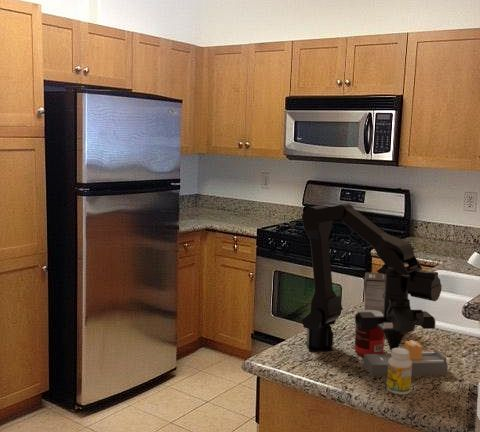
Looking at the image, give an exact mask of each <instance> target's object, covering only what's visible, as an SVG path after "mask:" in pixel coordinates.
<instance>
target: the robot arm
mask: <svg viewBox="0 0 480 432" xmlns="http://www.w3.org/2000/svg"><path fill="white" fill-rule="evenodd" d="M337 220H339V221H340V222H342V223H343V224H344V225H345V226H347V227H348V228H349V229H350V230H352V231H353V232H354V233H355V234H356V235H358V236H359V237H360V238H362V240H364V241H365V242H366V243H368V244H369V245H370V246H371V247H372V248H373V249H374V251H375V253H376V255H377V257H378V258H379V259H380V260H381V261H382V262H383V265H382V266H381V267H380V268H379V269H377V270H376V273H381V274H385V291H384V294H383V298H384V309H382V314H383V316H374V314H373V313H372V312H358V311H357V312H358V313H357V312H356V313H357V314H355V315H354V317H355V318H354V319H355V320H354V321H355V325H356V324H357V325H358V326H359V327H360V329H363V330H374V329H375V328H376V327H377V326H378V327H379V328H380V329H381V330H382V331H383V332H384V337H385V338H386V341H387V344H388V347H389V350H390V351H391V350H392V349H393V348H400V344H401V342H402V340H403V339H404V337H405V335H407V334H408V333H411V332H414V331H415V330H416V329H415V328H416V326H420V327H421V328H422V329H423V330H432V329H433V330H434V329H435V328H436V318H435V317H434V316H432V314H430V313H429V312H428V311H425V310H422V309H412V308H411V303H410V300H411V299H409V296H411V297H412V298H417V299H421V300H427V301H432V302H437V301H438V300H439V298H440V296H441V293H442V289H443V288H442V287H443V286H442V285H443V284H441V282H442V281H441V279H440V277H439V273H438V271H428V270H423V267H422V265H421V263H420V262H419V260H418V259H417V257H416V255H415V254H414V248H413V246H412V245H411V244H410V243H408V242H407V241H406V240H403V239H401V238H399V237H396V236H394V235H392V234H389V233H387V232H385V231H384V230H382V229H381V228H380V227H379V226H377V225H376V224H374V223H373V222H372V221H371V220H369V219H368V218H367V217H366V216H364V215H363V214H362V213H360V212H359V211H358V210H356V209H355V208H354V206H353V205H352V204H350V203H340V204H336V205H335V206H330V207H329V206H327V205H324V204H322V205H317V206H315V205H314V206H310V207H306V208H305V209H304V211H303V212H302V214H301V221H302V225H303V229H304V232H305V233H306V235H307V236H308V239H309V241H310V250H311V263H312V272H313V284H314V286H313V287H314V293H313V295H312V299H311V302H310V309H309V310H310V313H308V314H307V315H306V316H304V317H303V319H301V323H302V325H303V328H305V329H306V340H305V342H304V343H305V345H306V347H307V349H308V351H309V352H324V351H326V352H327V351H328V352H331V351H332V352H333V345H334V331H333V329H332V325H335V324H336V321H337V320H338V319H339V317H341V314H342V311H343V310H344V309H343V306H342V295H337V294H336V292H335V291H334V287H333V278H332V265H331V255H330V254H331V253H330V243H329V238H330V235H331V232H332V229H333V221H337ZM406 265H407V266H406Z"/></svg>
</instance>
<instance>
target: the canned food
mask: <svg viewBox="0 0 480 432" xmlns="http://www.w3.org/2000/svg"><path fill="white" fill-rule="evenodd" d="M358 312H372V313H373V314H374V316H383V314H382V312H380V311H376V310H364V309H361V310H358V311H357V312H356V314H357V313H358ZM356 314H355V315H356ZM354 331H355V332H354V333H355V335H354V351H355V353H356V354H357V355H359V356H360V357H363V358H364V354H384V345H385V333H384V332H383V331H382V330H381V329H380V328H379V327H378V326H377V327H376V328H375V329H374V330H363V329H360V327H359V326H358V325H357V324H356V323H355V330H354Z"/></svg>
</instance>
